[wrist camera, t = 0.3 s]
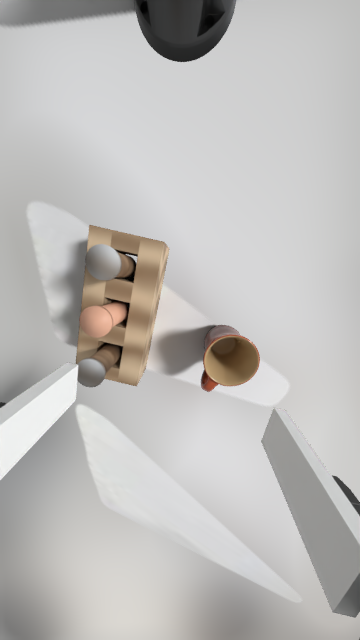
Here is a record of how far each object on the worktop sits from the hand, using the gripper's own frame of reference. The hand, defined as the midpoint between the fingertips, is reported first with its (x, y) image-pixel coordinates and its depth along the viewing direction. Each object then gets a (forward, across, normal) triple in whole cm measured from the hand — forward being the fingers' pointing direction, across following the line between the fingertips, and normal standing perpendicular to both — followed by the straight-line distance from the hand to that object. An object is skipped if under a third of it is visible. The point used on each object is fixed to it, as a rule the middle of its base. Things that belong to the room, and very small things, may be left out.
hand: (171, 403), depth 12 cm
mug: (+27, +8, -5) cm, 29 cm away
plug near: (+22, -12, +8) cm, 26 cm away
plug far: (+22, -12, -8) cm, 26 cm away
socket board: (+27, -12, 0) cm, 30 cm away
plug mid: (+22, -12, 0) cm, 25 cm away
